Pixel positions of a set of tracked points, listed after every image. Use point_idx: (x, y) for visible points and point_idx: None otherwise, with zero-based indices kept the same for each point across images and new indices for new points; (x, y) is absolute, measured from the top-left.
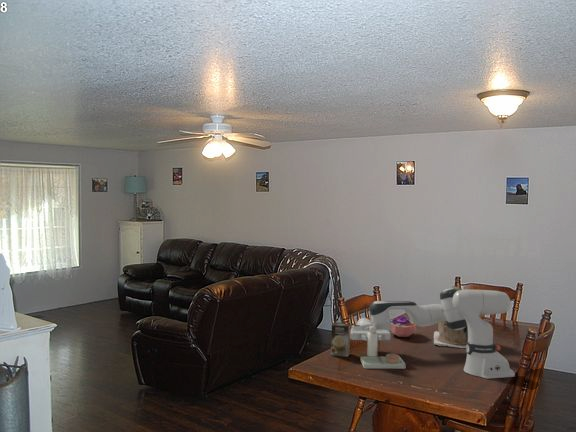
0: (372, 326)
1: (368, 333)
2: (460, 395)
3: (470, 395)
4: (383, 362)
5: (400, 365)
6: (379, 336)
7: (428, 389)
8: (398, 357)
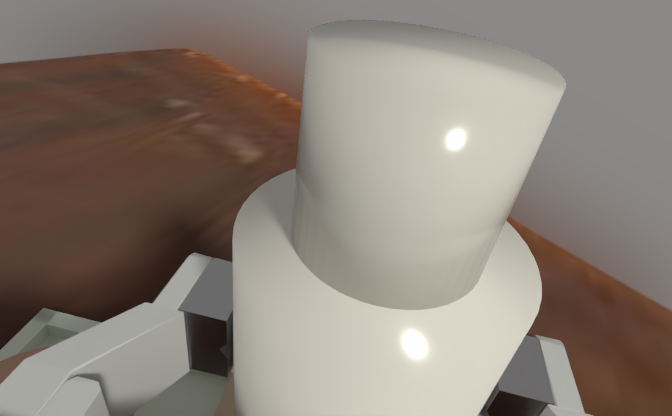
0: (432, 65)
1: (510, 229)
2: (143, 85)
3: (110, 78)
4: (224, 397)
5: (93, 326)
6: (168, 305)
7: (212, 125)
8: (16, 360)
